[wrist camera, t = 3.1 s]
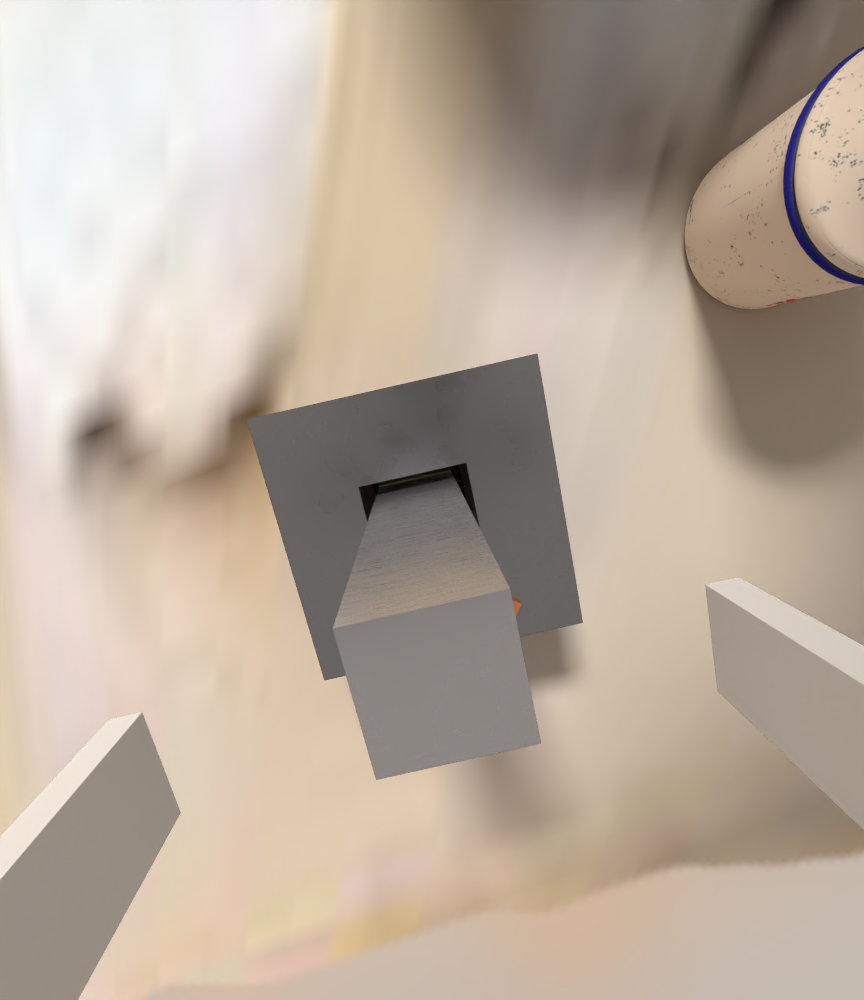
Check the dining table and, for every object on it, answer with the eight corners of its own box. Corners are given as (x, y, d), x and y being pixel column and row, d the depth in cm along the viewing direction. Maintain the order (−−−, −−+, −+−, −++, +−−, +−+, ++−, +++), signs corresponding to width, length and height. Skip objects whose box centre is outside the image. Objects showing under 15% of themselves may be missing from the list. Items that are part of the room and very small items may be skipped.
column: (382, 476, 31) (331, 627, 11) (447, 462, 31) (510, 587, 11) (399, 549, 32) (382, 804, 12) (462, 535, 32) (546, 768, 12)
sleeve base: (279, 413, 30) (234, 421, 22) (512, 361, 30) (546, 350, 22) (339, 628, 33) (319, 698, 25) (551, 580, 33) (593, 637, 25)
